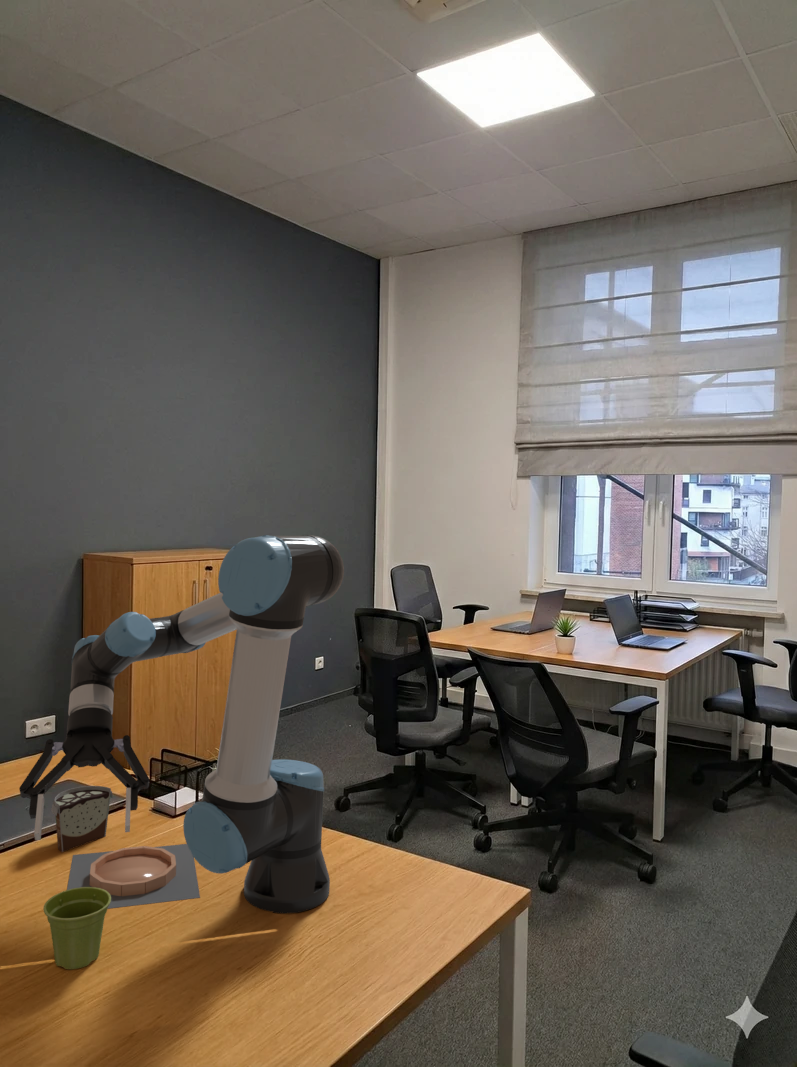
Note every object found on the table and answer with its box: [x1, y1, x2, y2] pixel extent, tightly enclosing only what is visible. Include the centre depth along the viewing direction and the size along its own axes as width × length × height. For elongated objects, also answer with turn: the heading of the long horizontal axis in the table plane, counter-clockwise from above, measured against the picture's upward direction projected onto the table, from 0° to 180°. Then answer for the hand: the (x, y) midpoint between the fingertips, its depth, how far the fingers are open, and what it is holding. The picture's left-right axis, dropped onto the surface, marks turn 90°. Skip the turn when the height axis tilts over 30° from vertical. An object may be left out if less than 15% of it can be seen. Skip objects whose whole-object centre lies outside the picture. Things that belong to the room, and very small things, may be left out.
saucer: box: [90, 845, 176, 896], centre depth 143 cm, size 15×15×2 cm
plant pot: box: [43, 887, 111, 970], centre depth 118 cm, size 9×9×9 cm
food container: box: [51, 785, 114, 853], centre depth 157 cm, size 12×6×10 cm, turn 144°
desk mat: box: [66, 843, 201, 910], centre depth 143 cm, size 22×22×1 cm
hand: (83, 833), depth 127 cm, fingers open, 13 cm apart
